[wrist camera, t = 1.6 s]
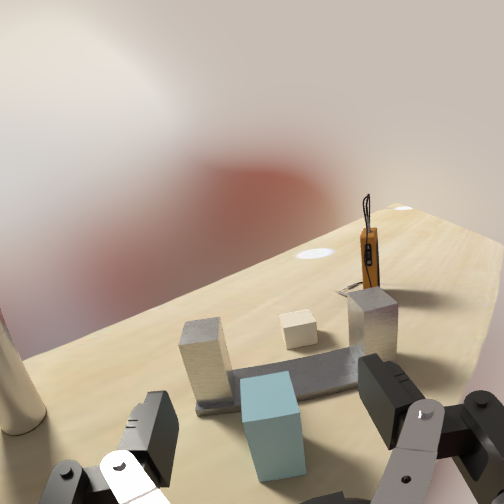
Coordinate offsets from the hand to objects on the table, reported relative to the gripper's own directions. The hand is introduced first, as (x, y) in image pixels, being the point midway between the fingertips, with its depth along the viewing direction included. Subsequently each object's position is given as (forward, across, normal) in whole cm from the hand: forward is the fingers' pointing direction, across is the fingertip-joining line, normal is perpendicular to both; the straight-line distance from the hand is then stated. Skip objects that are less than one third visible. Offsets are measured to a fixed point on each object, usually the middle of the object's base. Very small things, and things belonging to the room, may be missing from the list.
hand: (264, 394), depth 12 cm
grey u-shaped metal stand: (+24, -4, +18) cm, 30 cm away
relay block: (+35, -6, +18) cm, 40 cm away
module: (+11, 0, +18) cm, 21 cm away
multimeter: (+46, -20, +18) cm, 54 cm away
